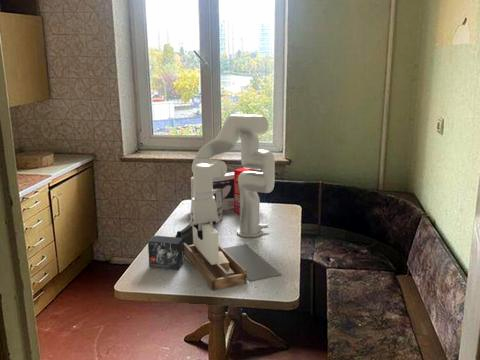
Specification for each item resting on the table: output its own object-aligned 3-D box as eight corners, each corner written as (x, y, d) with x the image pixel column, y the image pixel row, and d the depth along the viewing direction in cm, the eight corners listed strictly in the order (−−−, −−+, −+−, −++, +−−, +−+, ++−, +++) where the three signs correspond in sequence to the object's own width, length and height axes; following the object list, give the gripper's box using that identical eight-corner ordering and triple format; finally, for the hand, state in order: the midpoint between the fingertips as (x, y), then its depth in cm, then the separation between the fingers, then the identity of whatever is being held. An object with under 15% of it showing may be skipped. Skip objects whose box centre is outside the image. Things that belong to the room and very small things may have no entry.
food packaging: (241, 215, 262) (241, 171, 256) (234, 213, 265) (234, 169, 259) (257, 209, 273) (258, 166, 267) (250, 207, 276) (250, 165, 270)
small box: (148, 268, 197) (147, 241, 194) (154, 261, 203) (152, 235, 200) (179, 270, 195) (178, 243, 192) (183, 263, 201) (183, 237, 198)
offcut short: (221, 256, 203) (221, 251, 202) (229, 268, 192) (229, 262, 191) (211, 257, 201) (211, 252, 201) (218, 269, 190) (218, 263, 190)
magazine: (178, 239, 204) (201, 200, 229) (171, 238, 205) (194, 200, 229) (183, 269, 213) (205, 229, 237) (176, 268, 214) (198, 228, 238)
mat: (245, 245, 221) (245, 244, 221) (281, 275, 191) (281, 274, 191) (217, 249, 216) (217, 249, 215) (250, 281, 186) (250, 280, 185)
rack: (213, 249, 216) (212, 238, 214) (246, 283, 184) (246, 270, 182) (183, 254, 210) (183, 243, 209) (212, 290, 178) (212, 277, 177)
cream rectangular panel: (199, 242, 205) (198, 214, 201) (218, 263, 186) (218, 232, 182) (193, 243, 204) (192, 215, 200) (211, 264, 184) (210, 233, 181)
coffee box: (223, 219, 256) (223, 190, 252) (216, 222, 251) (216, 193, 247) (209, 215, 261) (209, 187, 257) (202, 219, 256) (202, 190, 252)
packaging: (195, 214, 263) (194, 179, 258) (191, 211, 269) (190, 177, 264) (244, 206, 277) (244, 173, 272) (239, 204, 282) (239, 171, 277)
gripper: (219, 189, 194) (220, 231, 199) (180, 194, 188) (182, 238, 193) (226, 194, 187) (227, 237, 193) (186, 200, 181) (188, 244, 186)
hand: (204, 237), depth 193 cm, fingers closed on cream rectangular panel, 3 cm apart
